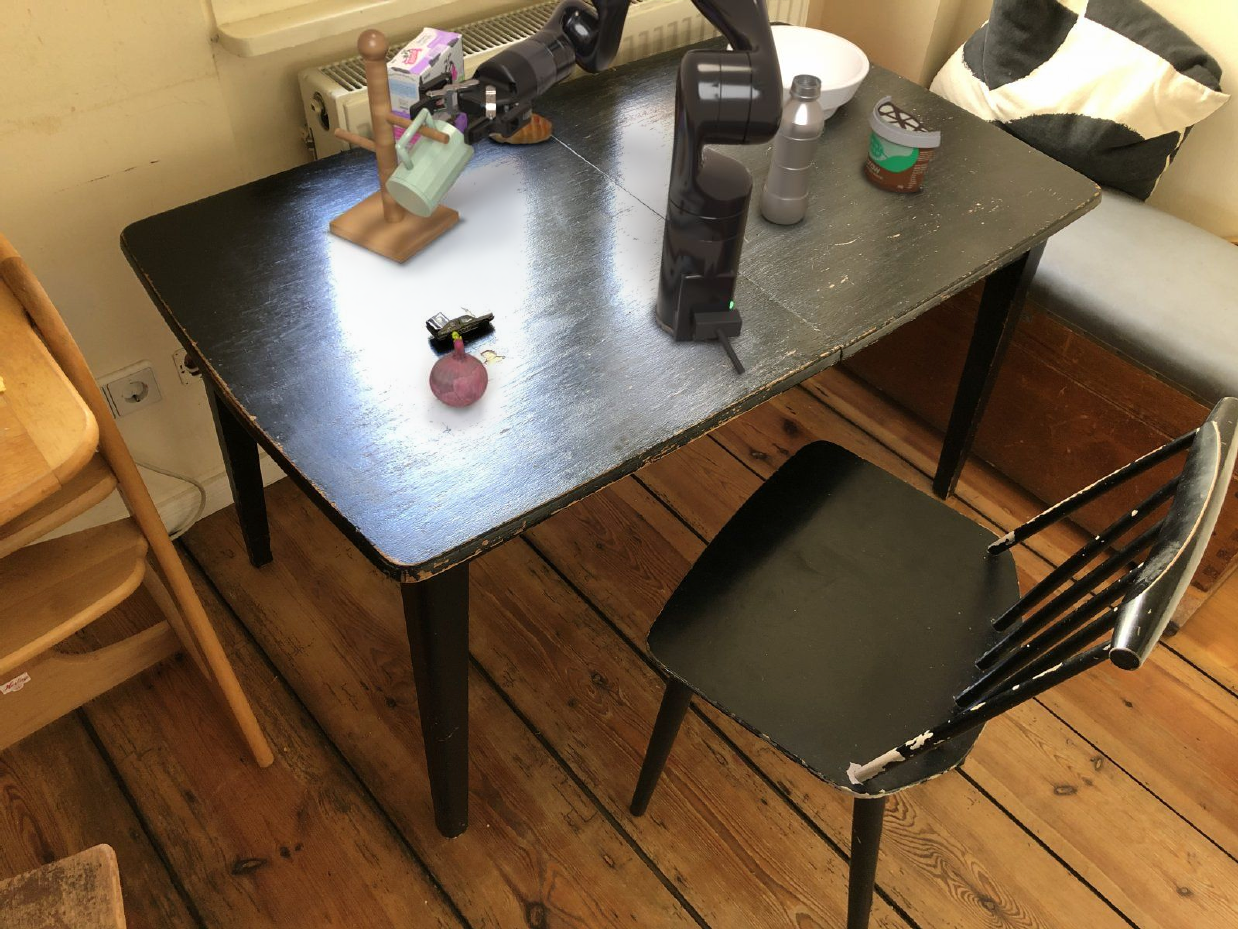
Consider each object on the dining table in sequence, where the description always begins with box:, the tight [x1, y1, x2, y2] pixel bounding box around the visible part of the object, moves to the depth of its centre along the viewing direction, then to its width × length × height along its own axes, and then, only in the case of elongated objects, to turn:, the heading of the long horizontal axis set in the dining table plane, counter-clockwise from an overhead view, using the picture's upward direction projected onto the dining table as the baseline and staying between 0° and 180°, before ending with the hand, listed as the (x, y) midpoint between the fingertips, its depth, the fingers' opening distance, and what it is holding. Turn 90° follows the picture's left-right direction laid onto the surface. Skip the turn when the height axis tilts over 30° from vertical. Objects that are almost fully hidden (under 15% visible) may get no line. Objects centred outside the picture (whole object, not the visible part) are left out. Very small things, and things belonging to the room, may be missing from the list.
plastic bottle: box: [759, 74, 825, 226], centre depth 134 cm, size 6×7×20 cm
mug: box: [386, 108, 475, 217], centre depth 123 cm, size 11×6×10 cm
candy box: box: [386, 26, 469, 165], centre depth 140 cm, size 14×6×16 cm, turn 162°
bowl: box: [726, 24, 870, 121], centre depth 161 cm, size 22×22×8 cm
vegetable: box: [428, 331, 489, 408], centre depth 108 cm, size 6×6×10 cm
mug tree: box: [328, 28, 460, 264], centre depth 124 cm, size 18×12×26 cm, turn 59°
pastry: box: [489, 113, 553, 145], centre depth 151 cm, size 9×7×4 cm
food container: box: [864, 95, 942, 193], centre depth 146 cm, size 12×6×10 cm, turn 27°
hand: (439, 127), depth 123 cm, fingers open, 8 cm apart
